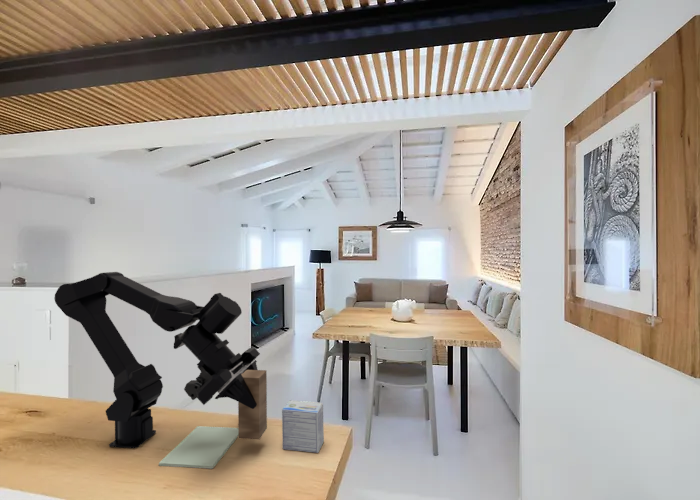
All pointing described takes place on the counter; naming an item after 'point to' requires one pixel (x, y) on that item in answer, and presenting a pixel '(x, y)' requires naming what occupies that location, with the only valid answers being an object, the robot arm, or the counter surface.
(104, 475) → the counter surface
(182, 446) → the rubber mat
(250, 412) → the walnut block
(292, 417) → the medicine box
